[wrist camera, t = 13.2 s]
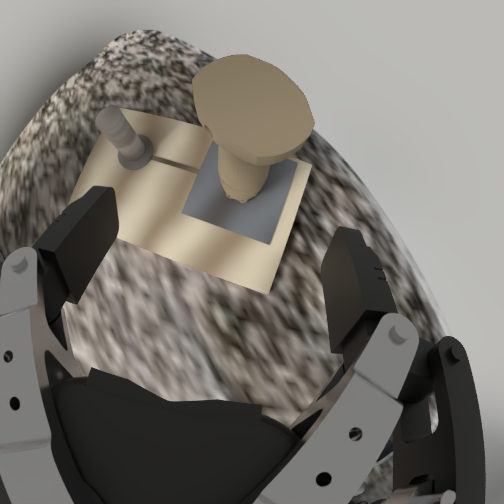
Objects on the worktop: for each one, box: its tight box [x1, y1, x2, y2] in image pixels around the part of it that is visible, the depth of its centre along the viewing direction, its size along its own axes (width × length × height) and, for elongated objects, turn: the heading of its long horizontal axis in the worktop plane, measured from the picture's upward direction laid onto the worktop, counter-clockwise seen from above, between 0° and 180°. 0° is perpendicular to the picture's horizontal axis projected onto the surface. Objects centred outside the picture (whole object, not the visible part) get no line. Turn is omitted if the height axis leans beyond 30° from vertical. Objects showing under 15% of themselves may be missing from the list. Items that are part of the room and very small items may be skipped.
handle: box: [192, 55, 315, 203], centre depth 19 cm, size 5×6×15 cm
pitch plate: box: [68, 105, 312, 295], centre depth 23 cm, size 24×14×10 cm, turn 70°
